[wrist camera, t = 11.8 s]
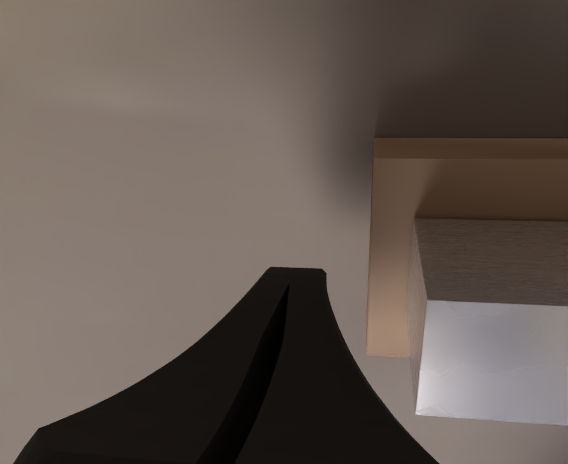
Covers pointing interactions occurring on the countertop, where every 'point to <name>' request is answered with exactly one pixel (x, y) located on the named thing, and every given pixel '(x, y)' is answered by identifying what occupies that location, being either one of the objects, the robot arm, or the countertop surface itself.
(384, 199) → the press bed
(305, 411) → the robot arm
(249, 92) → the countertop surface
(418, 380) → the block
